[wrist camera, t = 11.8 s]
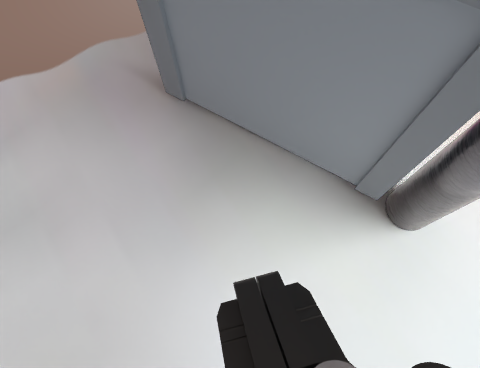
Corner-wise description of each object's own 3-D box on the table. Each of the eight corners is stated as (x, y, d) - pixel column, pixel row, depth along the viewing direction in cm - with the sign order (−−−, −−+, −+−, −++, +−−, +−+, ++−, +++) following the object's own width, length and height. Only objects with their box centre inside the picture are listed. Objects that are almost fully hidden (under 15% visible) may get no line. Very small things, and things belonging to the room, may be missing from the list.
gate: (387, 178, 24) (627, -53, 9) (376, 200, 23) (615, -9, 9) (179, 75, 27) (105, -225, 12) (166, 92, 27) (71, -201, 12)
